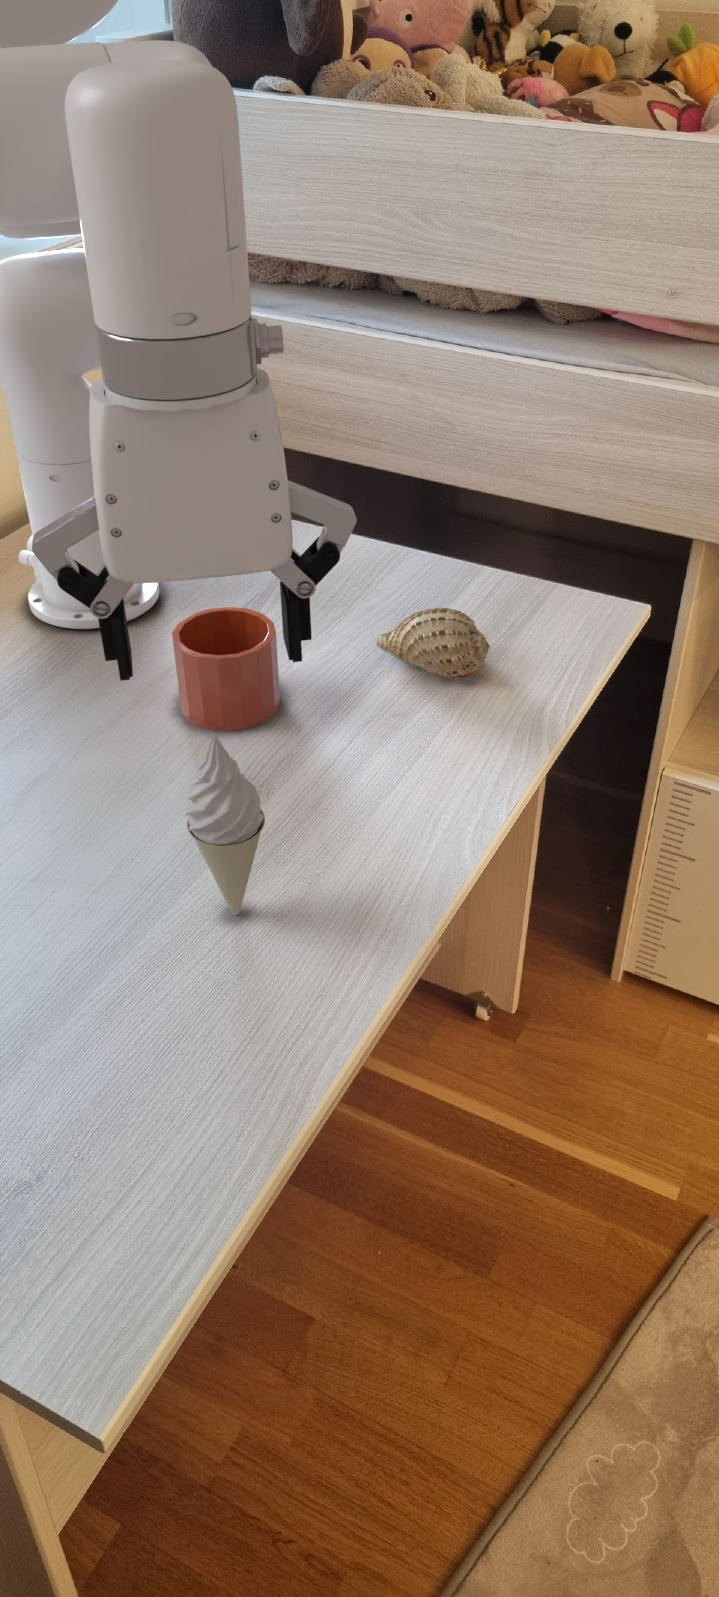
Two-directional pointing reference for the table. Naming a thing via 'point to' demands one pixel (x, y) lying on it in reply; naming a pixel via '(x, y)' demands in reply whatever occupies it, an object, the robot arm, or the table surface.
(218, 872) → the ice cream cone
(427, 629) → the seashell
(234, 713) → the cone holder
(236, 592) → the table surface
